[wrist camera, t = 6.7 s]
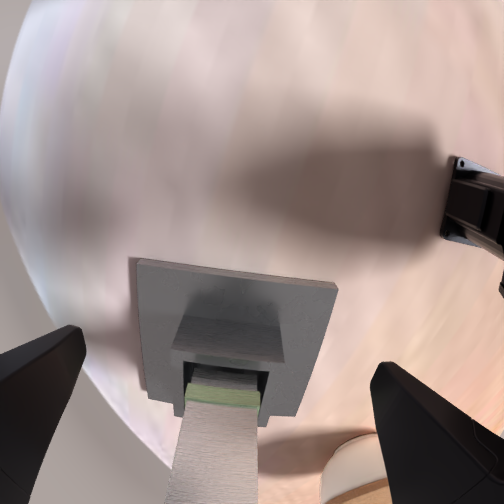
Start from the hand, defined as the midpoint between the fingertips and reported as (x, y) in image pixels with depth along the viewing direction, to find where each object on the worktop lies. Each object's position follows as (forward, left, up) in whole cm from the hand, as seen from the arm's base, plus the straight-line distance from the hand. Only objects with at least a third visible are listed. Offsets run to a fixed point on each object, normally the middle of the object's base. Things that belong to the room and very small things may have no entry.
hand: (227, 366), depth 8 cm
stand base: (0, +10, -12) cm, 16 cm away
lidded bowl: (-18, +26, -13) cm, 34 cm away
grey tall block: (0, +10, -8) cm, 12 cm away
